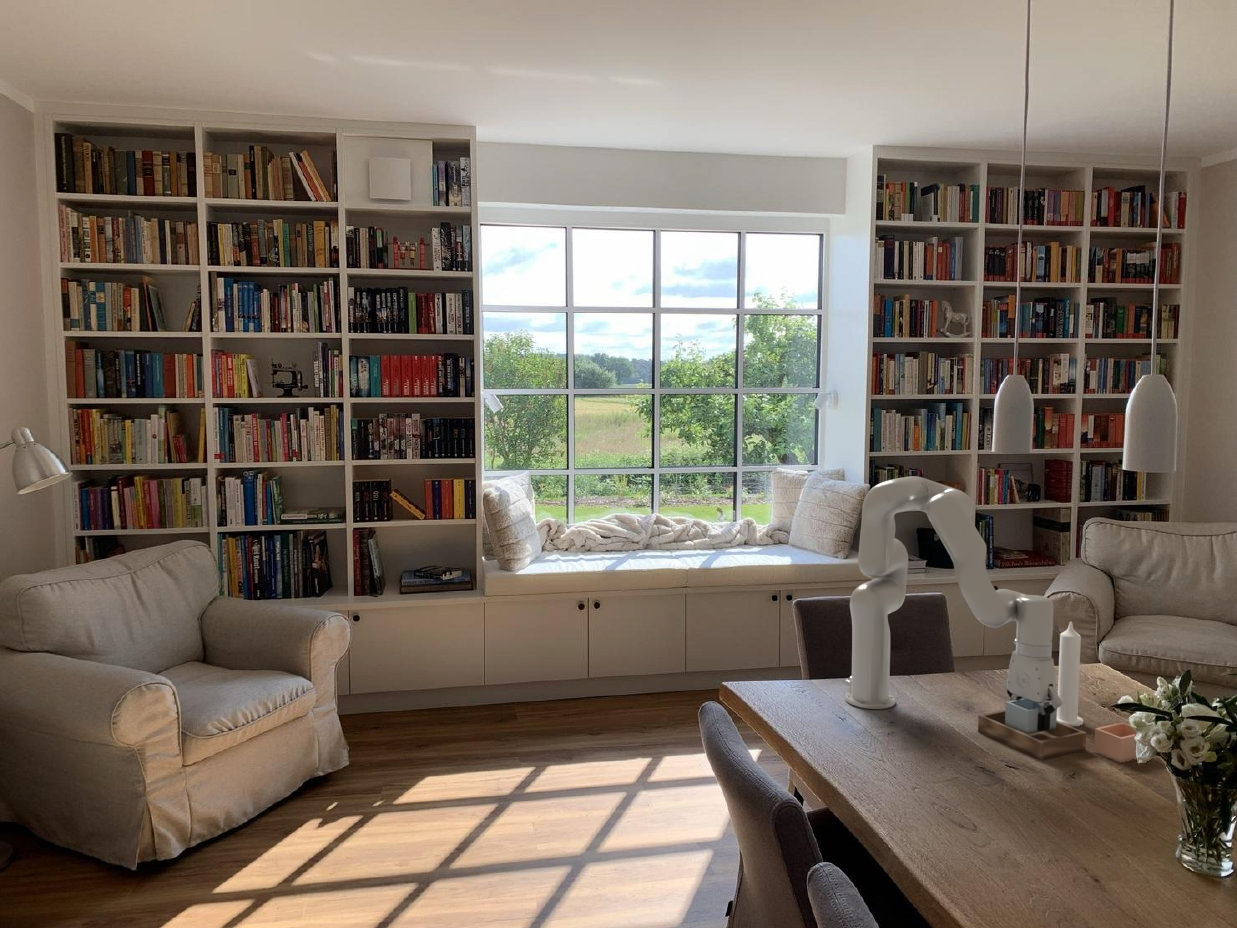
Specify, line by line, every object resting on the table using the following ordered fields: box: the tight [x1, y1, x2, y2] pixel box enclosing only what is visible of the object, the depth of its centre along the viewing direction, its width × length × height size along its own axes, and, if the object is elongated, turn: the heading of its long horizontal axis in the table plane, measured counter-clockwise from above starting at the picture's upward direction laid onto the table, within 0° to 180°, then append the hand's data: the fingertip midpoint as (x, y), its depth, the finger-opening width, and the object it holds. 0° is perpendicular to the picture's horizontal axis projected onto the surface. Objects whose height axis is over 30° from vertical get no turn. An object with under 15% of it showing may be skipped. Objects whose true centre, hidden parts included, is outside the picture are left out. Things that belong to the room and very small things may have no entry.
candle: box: [1057, 621, 1084, 727], centre depth 219 cm, size 7×7×25 cm
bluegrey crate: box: [1005, 698, 1057, 735], centre depth 208 cm, size 6×9×6 cm
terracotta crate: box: [1093, 722, 1136, 764], centre depth 200 cm, size 6×9×6 cm
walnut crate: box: [977, 709, 1087, 761], centre depth 208 cm, size 18×14×4 cm
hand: (1030, 723), depth 208 cm, fingers closed on bluegrey crate, 6 cm apart
